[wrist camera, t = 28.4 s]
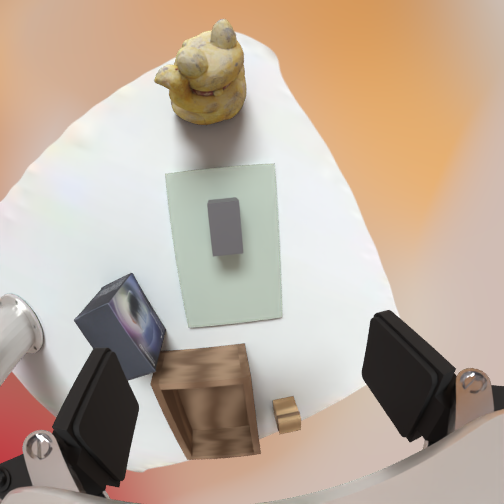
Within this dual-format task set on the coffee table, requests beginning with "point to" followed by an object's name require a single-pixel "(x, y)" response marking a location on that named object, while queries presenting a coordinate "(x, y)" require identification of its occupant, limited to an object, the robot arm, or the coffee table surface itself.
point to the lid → (226, 243)
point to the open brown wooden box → (208, 401)
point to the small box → (124, 326)
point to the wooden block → (286, 415)
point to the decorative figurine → (207, 77)
